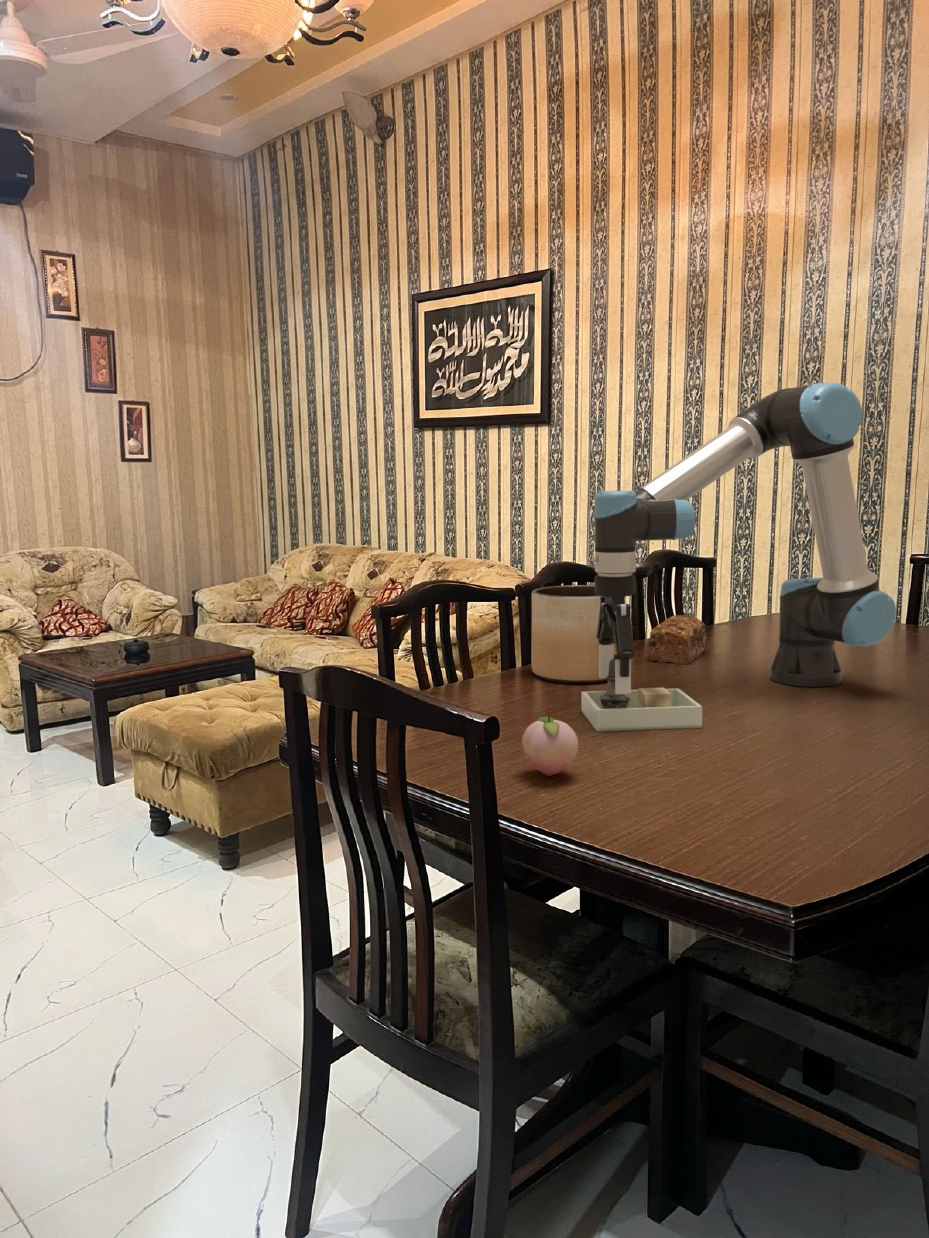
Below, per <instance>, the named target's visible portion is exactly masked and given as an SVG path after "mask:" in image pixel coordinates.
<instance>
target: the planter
mask: <svg viewBox="0 0 929 1238" xmlns="http://www.w3.org/2000/svg"><path fill="white" fill-rule="evenodd" d="M600 597H601V596H598V595H596V594H595V585H594V584H593V585H588V584H585V585H584V584H581V585H580V584H579V585H578V584H576V585H573V584H572V585H567V584H566V585H554V586H553V585H552V586H545V587H540V588H535V589H533V590H532V591H531V650H530V651H531V658H530V659H531V663H530V664H531V670H532V672H533V674H535V675H536V676H538V677H539V678H540V679H543V680H546V681H549V682H556V683H561V684H597V683H604V682H608V679H607V678H600V677H599V645H601V644H599V642H598V640H599V639H597V637H596V635H597V629H598V621H599V612H600ZM626 599H627V596H626V597H625V598H624V600H625V604H627V602H626V601H627V600H626ZM613 638H614V636H613ZM613 645H614V655H617V653H616V647H615V643H614V644H613Z"/></svg>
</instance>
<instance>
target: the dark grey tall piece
mask: <svg viewBox="0 0 929 1238" xmlns="http://www.w3.org/2000/svg"><path fill="white" fill-rule="evenodd" d="M606 678H607V679H608V681H607V688H606V690H605V691H606V693H605V694H604V695H602V696H600V697H599V698H600V699H601V704H602V706H603V708H604V709H620V708H627V706H628V703H629V700H630V698H629V697H626V696H625V695H624V694H615V660H614V659H612V660H610V662H609V674H608V676H607V677H606Z"/></svg>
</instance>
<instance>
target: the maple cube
mask: <svg viewBox="0 0 929 1238" xmlns="http://www.w3.org/2000/svg"><path fill="white" fill-rule="evenodd" d="M666 689H667V688H665V687H639V688H638V689H637V690H638V708H648V707H671V693H670V692H669V691H667V690H666Z"/></svg>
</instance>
